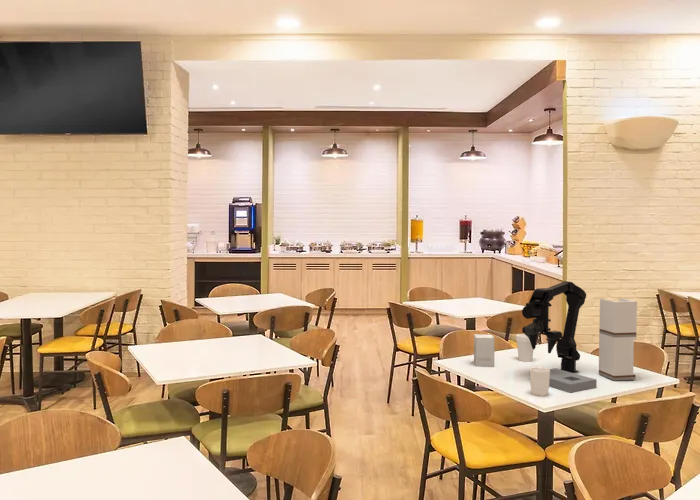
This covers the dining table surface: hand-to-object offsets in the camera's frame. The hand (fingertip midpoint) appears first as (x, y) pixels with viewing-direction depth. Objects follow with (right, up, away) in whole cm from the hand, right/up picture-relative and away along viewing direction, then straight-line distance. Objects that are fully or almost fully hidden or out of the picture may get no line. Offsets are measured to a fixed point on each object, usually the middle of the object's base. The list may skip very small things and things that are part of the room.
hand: (541, 351), depth 259 cm
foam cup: (+3, -11, +33) cm, 34 cm away
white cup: (-9, -13, -25) cm, 30 cm away
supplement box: (-21, -11, +22) cm, 32 cm away
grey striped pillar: (+35, -12, +2) cm, 37 cm away
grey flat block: (+6, -12, -10) cm, 17 cm away
